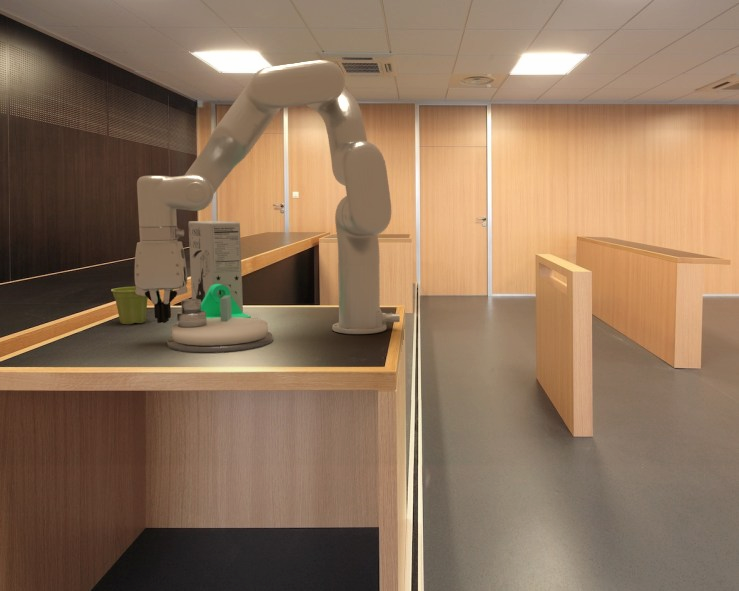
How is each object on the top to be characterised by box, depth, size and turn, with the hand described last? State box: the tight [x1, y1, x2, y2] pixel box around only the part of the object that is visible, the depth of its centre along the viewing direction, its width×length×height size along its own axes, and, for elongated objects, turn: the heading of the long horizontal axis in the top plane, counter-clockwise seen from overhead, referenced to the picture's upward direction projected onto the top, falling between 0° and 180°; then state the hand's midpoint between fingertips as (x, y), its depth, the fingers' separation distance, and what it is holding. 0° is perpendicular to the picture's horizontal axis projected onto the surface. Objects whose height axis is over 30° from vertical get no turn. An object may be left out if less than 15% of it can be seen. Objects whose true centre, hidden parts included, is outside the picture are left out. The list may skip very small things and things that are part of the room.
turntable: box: [171, 296, 269, 346], centre depth 142 cm, size 20×20×7 cm
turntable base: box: [166, 331, 274, 354], centre depth 143 cm, size 22×22×1 cm
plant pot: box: [110, 286, 149, 325], centre depth 167 cm, size 9×9×9 cm
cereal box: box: [188, 220, 244, 313], centre depth 176 cm, size 22×8×25 cm, turn 29°
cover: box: [176, 298, 207, 328], centre depth 142 cm, size 6×6×5 cm
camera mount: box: [201, 284, 252, 318], centre depth 161 cm, size 12×8×10 cm, turn 121°
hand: (163, 321), depth 142 cm, fingers closed
